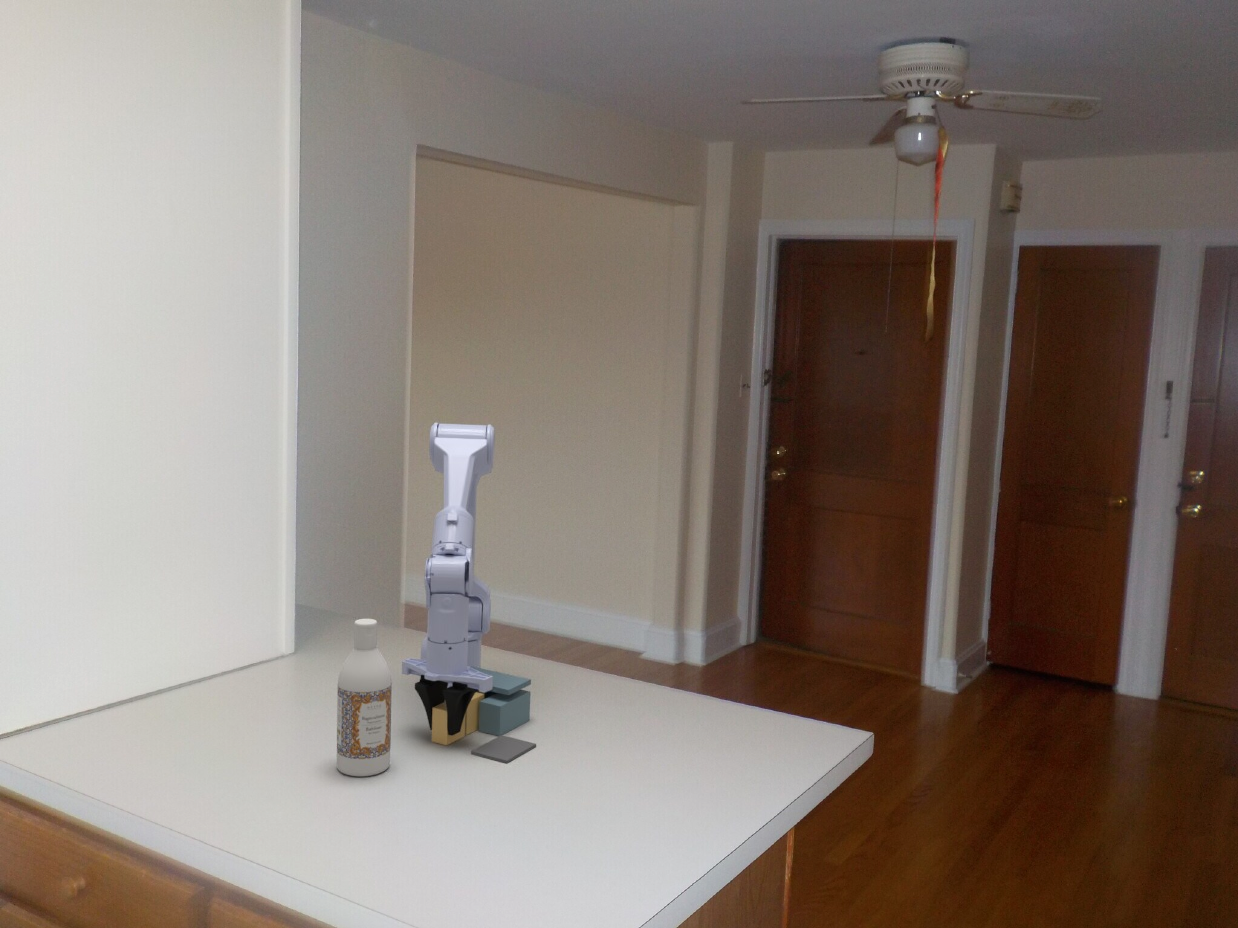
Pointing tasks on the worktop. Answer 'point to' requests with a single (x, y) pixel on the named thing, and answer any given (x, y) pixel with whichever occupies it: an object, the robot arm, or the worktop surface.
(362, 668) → the bath foam
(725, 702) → the worktop surface
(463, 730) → the tan grooved block
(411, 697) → the worktop surface
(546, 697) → the worktop surface
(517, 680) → the teal block stack
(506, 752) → the pad
